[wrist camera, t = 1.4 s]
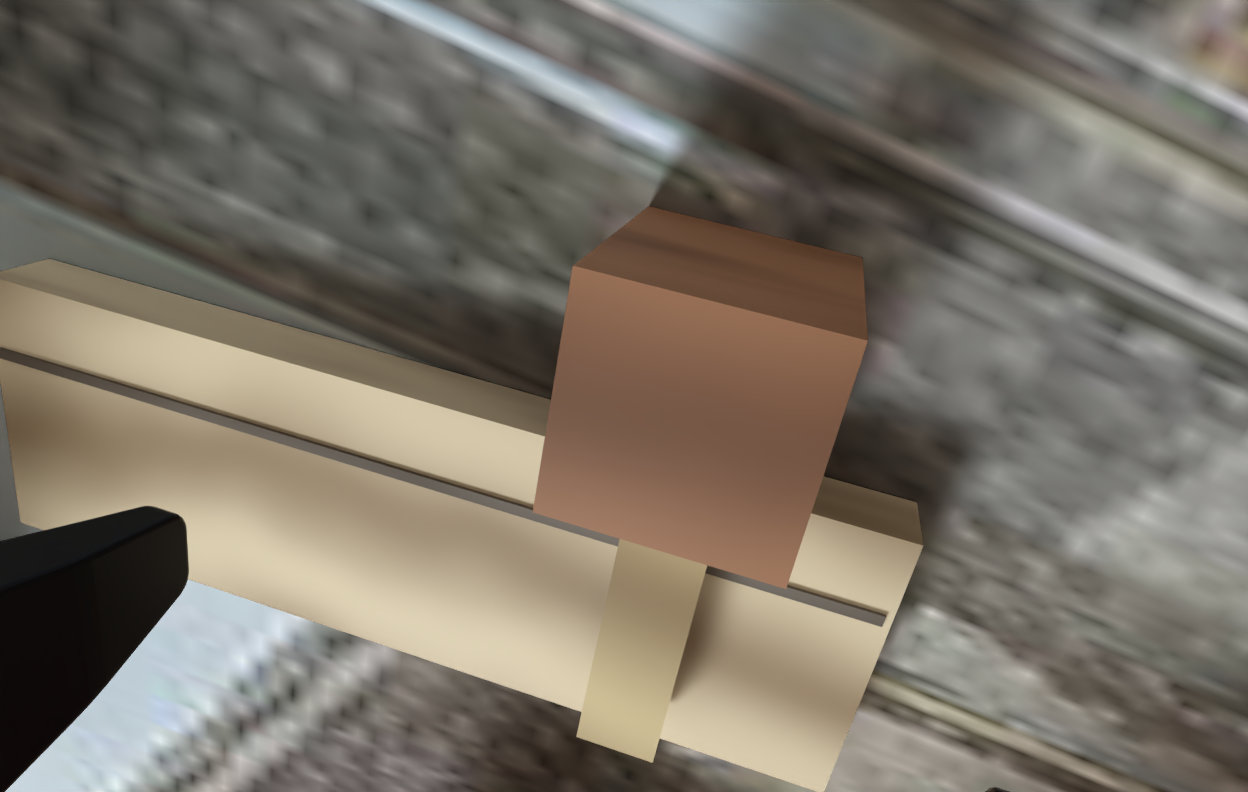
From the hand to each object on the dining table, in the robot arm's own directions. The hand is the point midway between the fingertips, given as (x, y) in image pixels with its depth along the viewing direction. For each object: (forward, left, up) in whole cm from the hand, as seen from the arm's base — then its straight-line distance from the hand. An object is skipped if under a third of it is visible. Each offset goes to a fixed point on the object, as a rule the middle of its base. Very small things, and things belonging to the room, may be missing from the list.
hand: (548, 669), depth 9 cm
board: (-7, +7, -13) cm, 16 cm away
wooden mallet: (-4, 0, -13) cm, 13 cm away
